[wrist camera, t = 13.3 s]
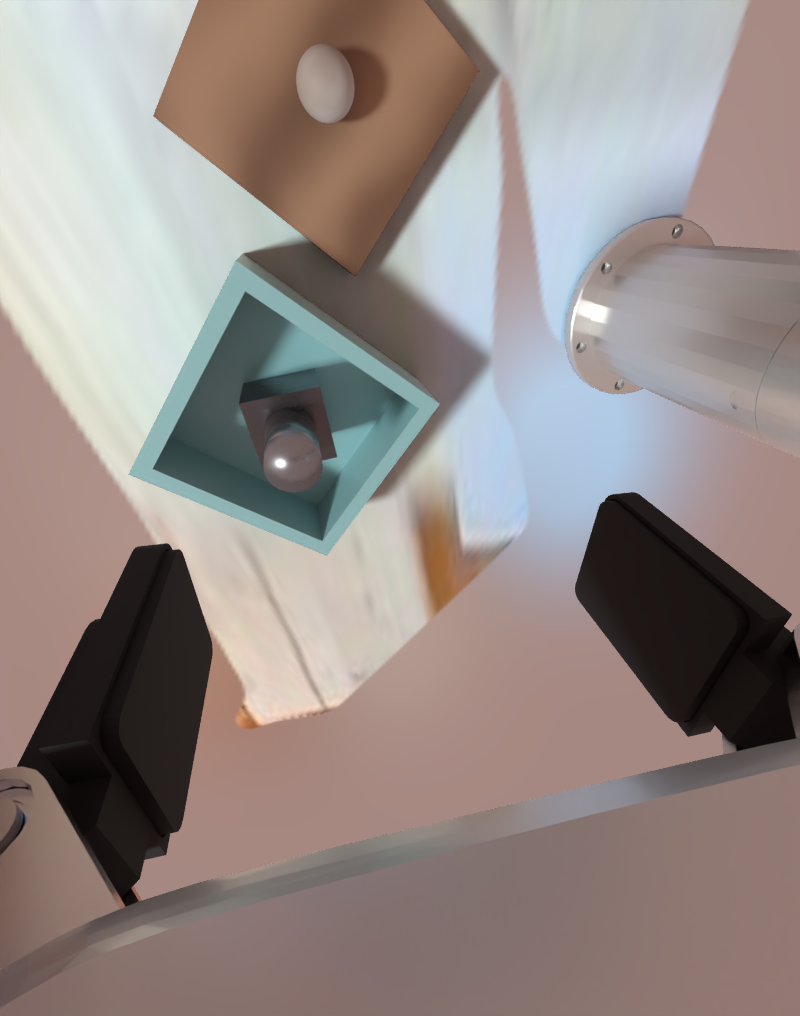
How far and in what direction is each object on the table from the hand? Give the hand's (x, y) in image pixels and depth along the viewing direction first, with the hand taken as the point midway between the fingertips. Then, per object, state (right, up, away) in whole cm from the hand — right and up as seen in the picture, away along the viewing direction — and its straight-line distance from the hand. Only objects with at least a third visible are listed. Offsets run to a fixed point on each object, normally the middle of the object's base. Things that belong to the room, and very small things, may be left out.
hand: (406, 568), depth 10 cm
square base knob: (-8, +8, +22) cm, 25 cm away
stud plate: (-5, +24, +14) cm, 28 cm away
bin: (-8, +9, +23) cm, 26 cm away
